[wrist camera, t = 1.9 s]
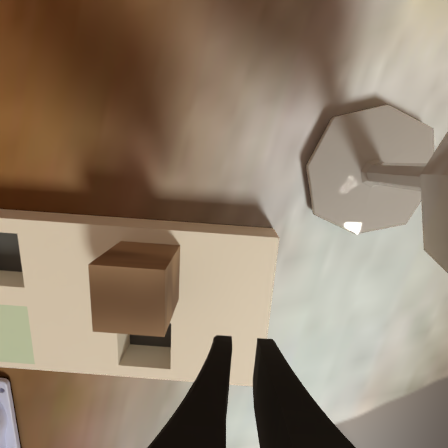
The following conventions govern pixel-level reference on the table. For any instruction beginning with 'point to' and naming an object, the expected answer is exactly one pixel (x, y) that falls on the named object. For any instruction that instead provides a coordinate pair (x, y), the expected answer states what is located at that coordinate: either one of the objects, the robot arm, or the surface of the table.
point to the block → (135, 288)
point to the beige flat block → (125, 343)
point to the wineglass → (381, 175)
